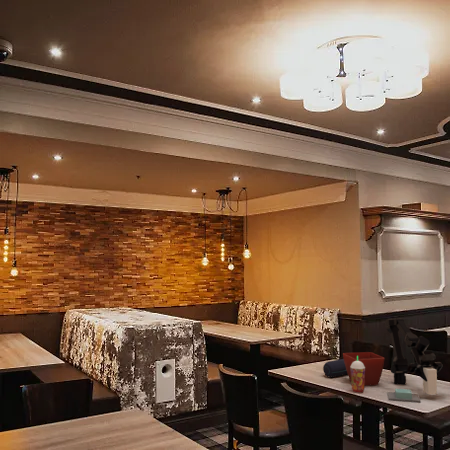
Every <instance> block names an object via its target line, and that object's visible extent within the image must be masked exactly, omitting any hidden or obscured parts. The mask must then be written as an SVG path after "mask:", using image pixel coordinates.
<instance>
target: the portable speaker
mask: <svg viewBox="0 0 450 450" xmlns="http://www.w3.org/2000/svg"><path fill="white" fill-rule="evenodd" d="M322 370H323V373H324V375H325V376H326V377H328V378H331V377H332V378H337V377H340V376H341V377H342V376H345V375H348V373H347V370H346V366H345V362H344V358H340V359H334V360H329V361H326V362H325V363H324V364H323V368H322Z"/></svg>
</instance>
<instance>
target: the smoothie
mask: <svg viewBox="0 0 450 450" xmlns="http://www.w3.org/2000/svg"><path fill="white" fill-rule="evenodd" d="M350 370H351V381H350V382H351V389H352V391H353V392H354V393H359V394H361V393H363V392H364V391H365V386H364V382H365V367H364V364H363V363H362V362H361V361H358V356H357V361H354V362H353V363H352V364H351V366H350Z"/></svg>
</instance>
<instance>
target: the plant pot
mask: <svg viewBox="0 0 450 450" xmlns="http://www.w3.org/2000/svg"><path fill="white" fill-rule="evenodd" d="M342 356H343V358H342V359H344V362H345V366H346V370H347V373H348V374H347V376H348V378H349V381H350V382H351V370H350V366H351V364H352V363H353V362H354V361H357V356H358V361H361V362H362V363H363V364H364V367H365V382H364V387H367V386H378V385H379V383H380V380H381V378H382V374H383V369H384V364H385V357H383V356H381V355H379V354H376V353H374V352H369V351H365V352H343V353H342Z"/></svg>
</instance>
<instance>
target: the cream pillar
mask: <svg viewBox="0 0 450 450" xmlns="http://www.w3.org/2000/svg"><path fill="white" fill-rule="evenodd" d="M423 372H424V374H425V376H426V378H427V382H426V381H425V380H423V379H422V382H423V383H422V387H423V388H422V389H423V391H422V392H423V393H425V394H426V395H438V382H437V381H438V378H437V377H438V375H437V373H438V372H437V370H436V369H434V368H423Z"/></svg>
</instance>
